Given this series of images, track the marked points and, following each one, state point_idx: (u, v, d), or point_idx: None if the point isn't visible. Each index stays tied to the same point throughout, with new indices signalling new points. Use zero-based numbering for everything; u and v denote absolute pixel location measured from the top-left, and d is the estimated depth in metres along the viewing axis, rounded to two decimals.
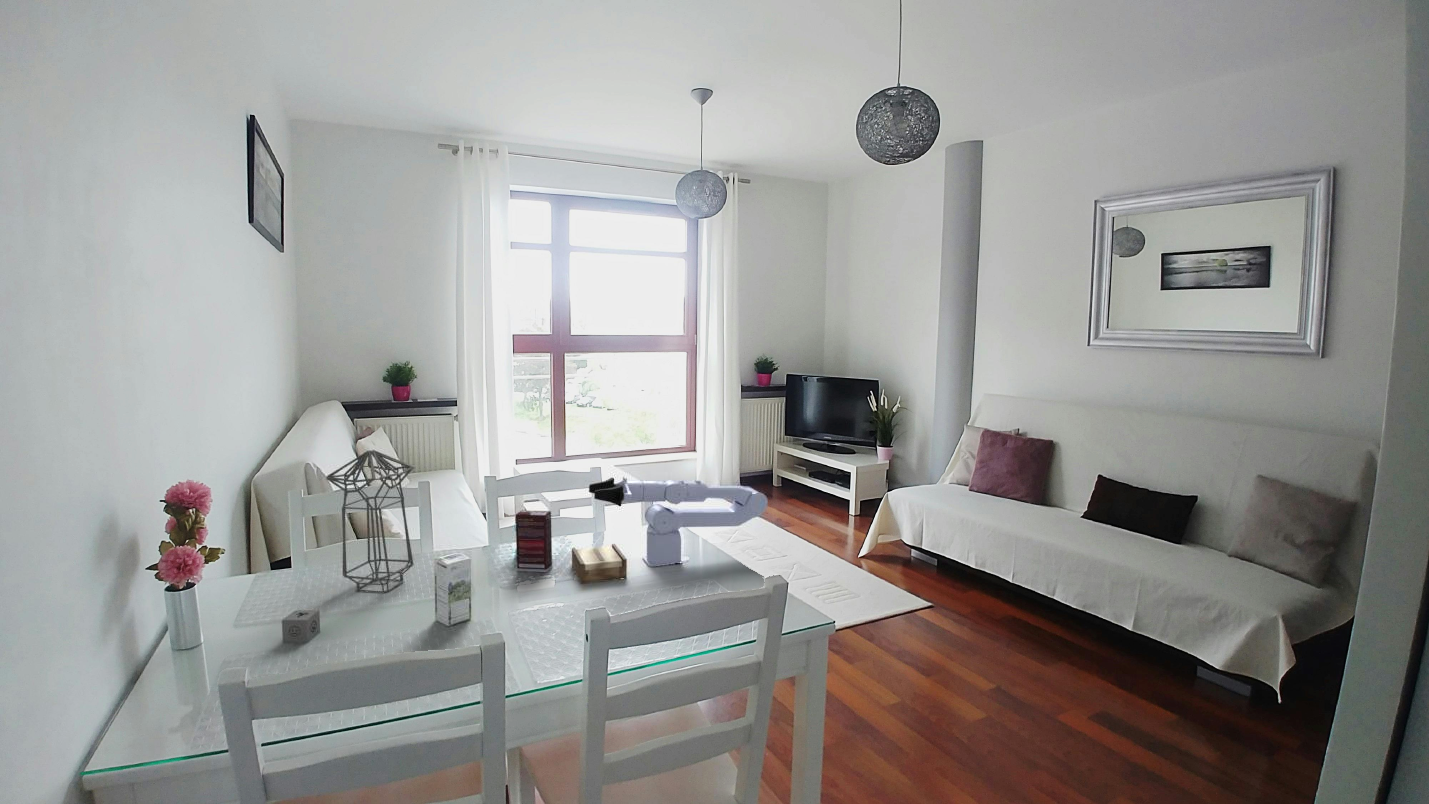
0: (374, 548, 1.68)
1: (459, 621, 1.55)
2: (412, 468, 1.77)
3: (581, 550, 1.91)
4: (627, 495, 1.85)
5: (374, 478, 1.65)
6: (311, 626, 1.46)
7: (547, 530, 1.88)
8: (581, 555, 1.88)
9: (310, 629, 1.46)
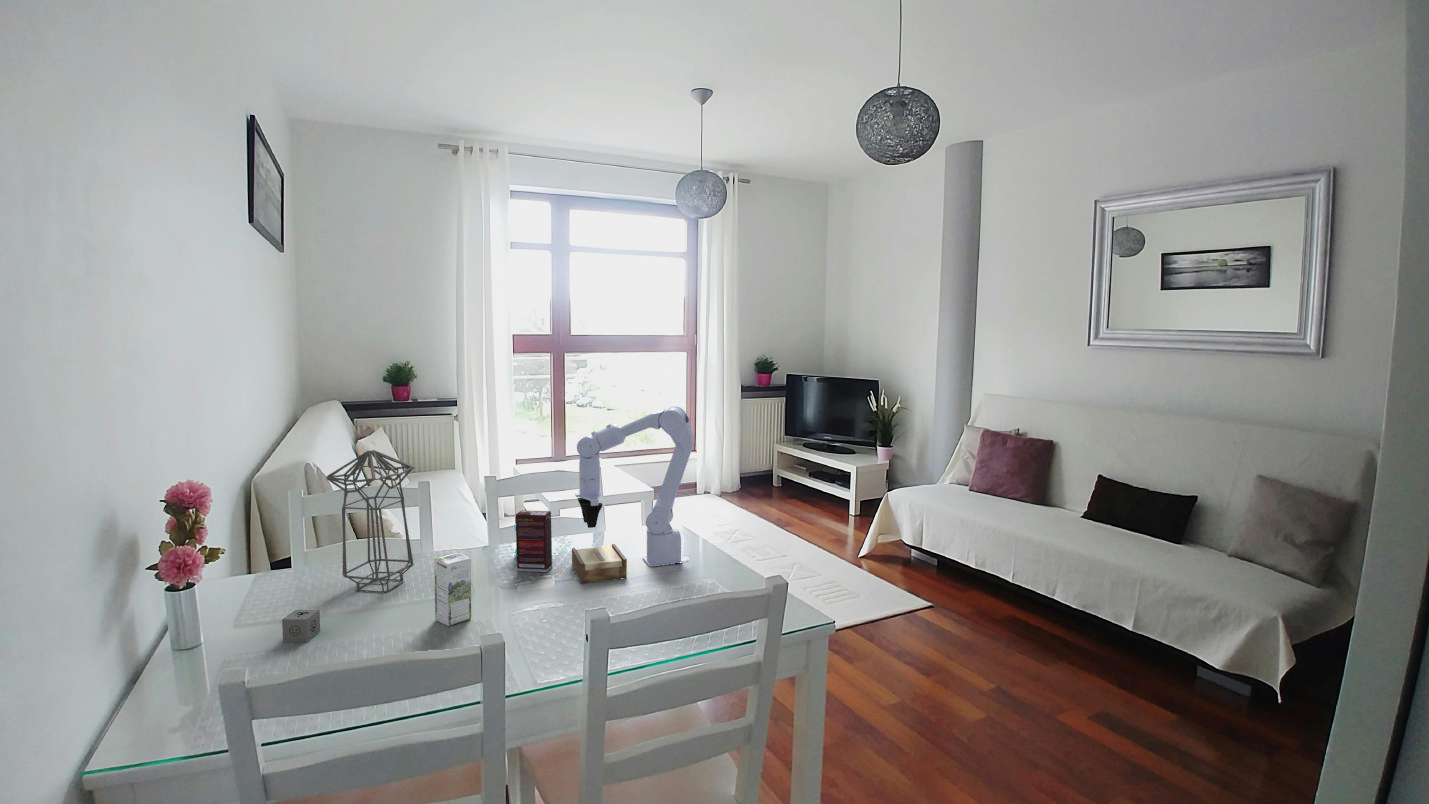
0: (374, 548, 1.68)
1: (459, 621, 1.55)
2: (412, 468, 1.77)
3: (581, 550, 1.91)
4: (592, 503, 1.91)
5: (374, 478, 1.65)
6: (311, 625, 1.47)
7: (547, 530, 1.88)
8: (581, 555, 1.88)
9: (310, 628, 1.46)
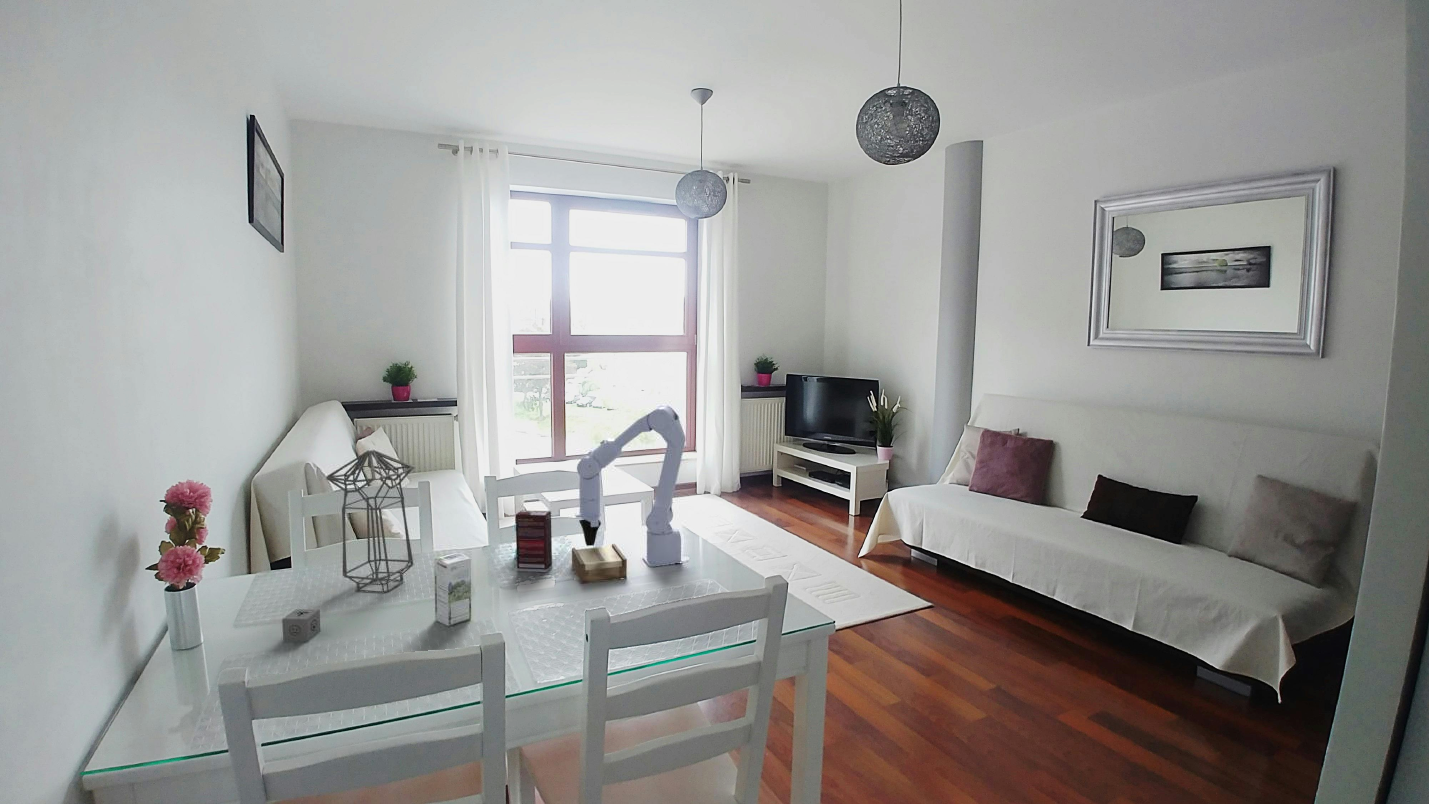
0: (374, 548, 1.68)
1: (459, 621, 1.55)
2: (412, 468, 1.77)
3: (581, 550, 1.91)
4: (592, 524, 1.92)
5: (374, 478, 1.65)
6: (311, 624, 1.47)
7: (547, 530, 1.88)
8: (581, 555, 1.88)
9: (310, 628, 1.46)
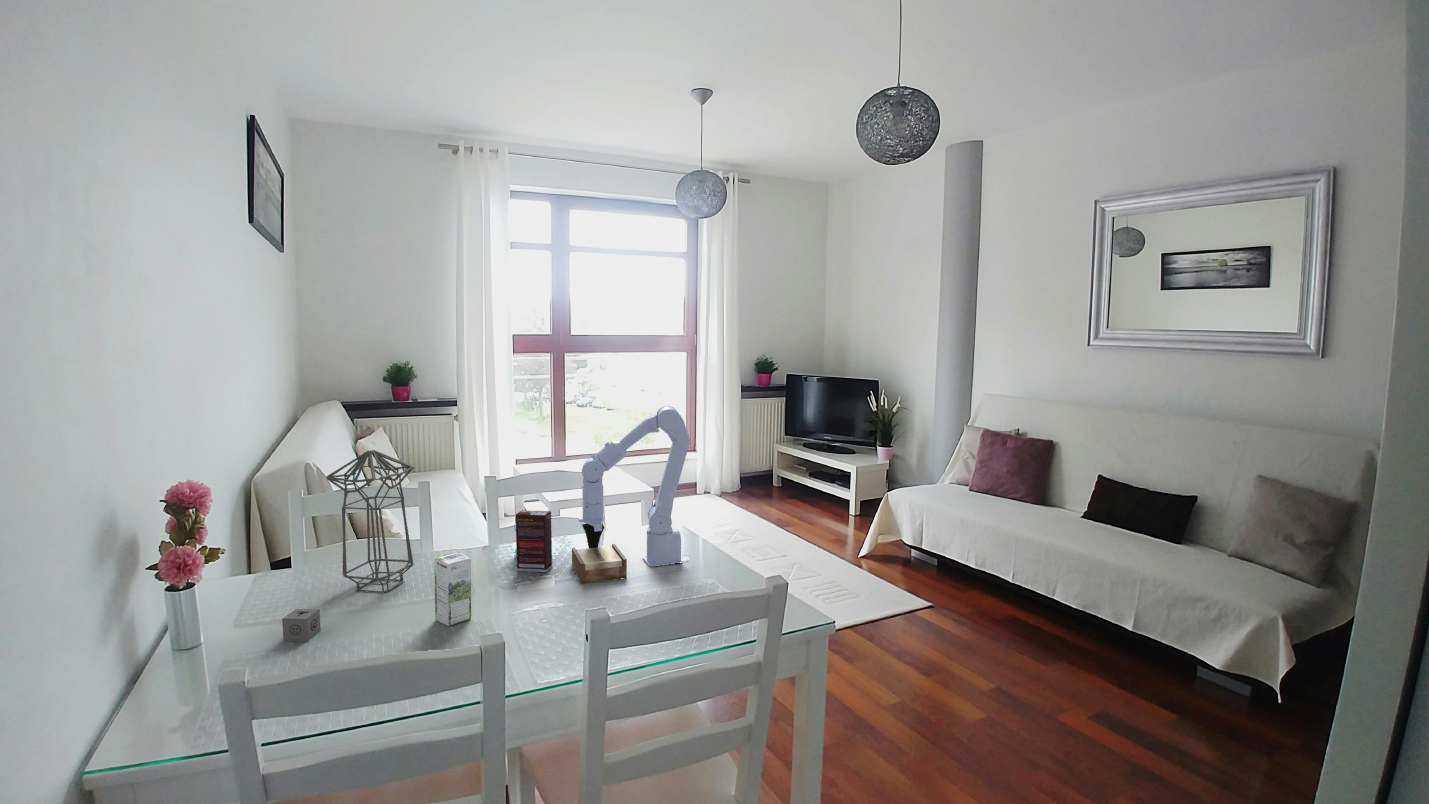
0: (374, 548, 1.68)
1: (459, 621, 1.55)
2: (412, 468, 1.77)
3: (581, 550, 1.91)
4: (596, 528, 1.87)
5: (374, 478, 1.65)
6: (311, 624, 1.47)
7: (547, 530, 1.88)
8: (581, 555, 1.88)
9: (310, 627, 1.46)
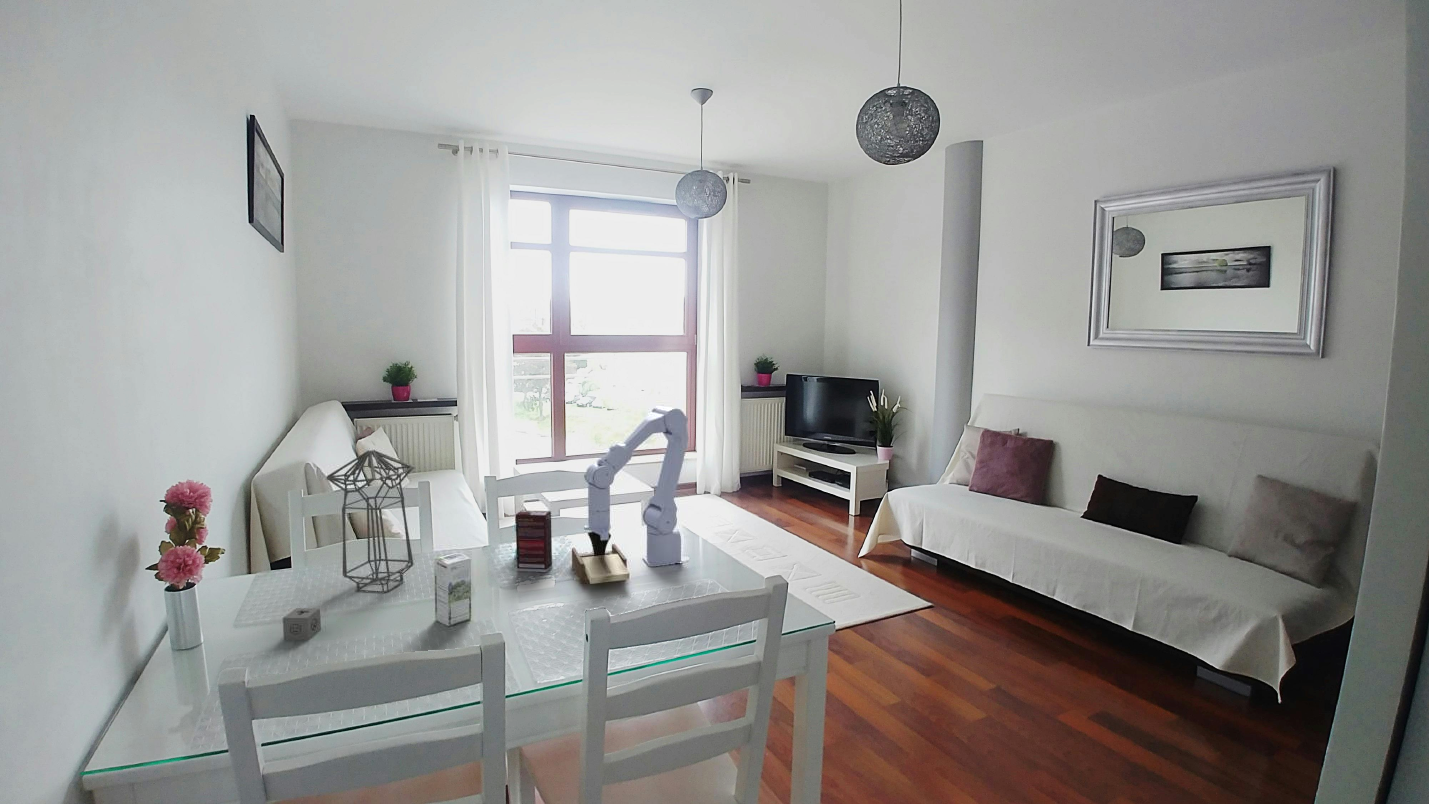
0: (374, 548, 1.68)
1: (459, 621, 1.55)
2: (412, 468, 1.77)
3: (586, 559, 1.84)
4: (602, 537, 1.80)
5: (374, 478, 1.65)
6: (312, 623, 1.47)
7: (547, 530, 1.88)
8: (586, 565, 1.80)
9: (311, 627, 1.47)
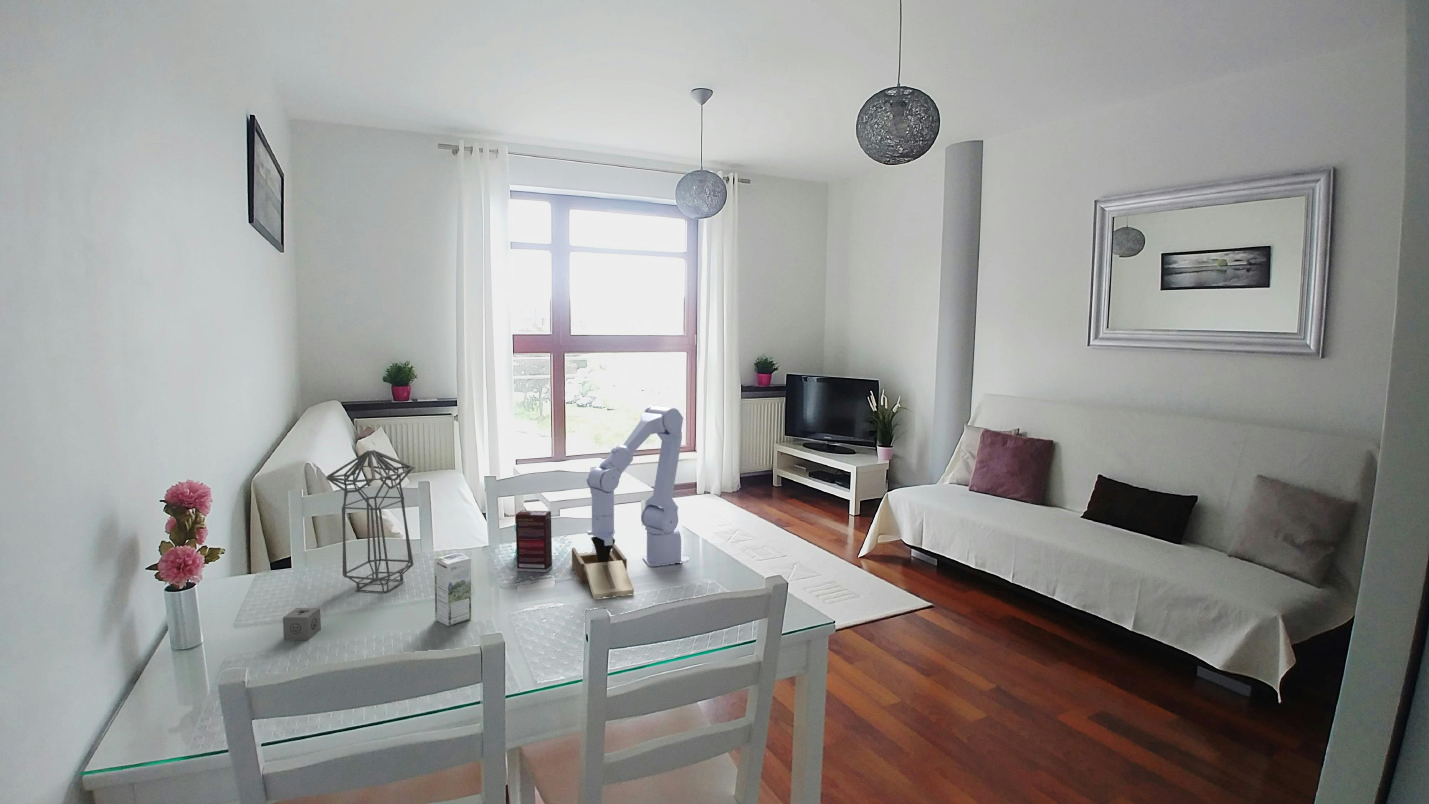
0: (374, 548, 1.68)
1: (459, 621, 1.55)
2: (412, 468, 1.77)
3: (590, 567, 1.79)
4: (606, 542, 1.75)
5: (374, 478, 1.65)
6: (312, 623, 1.48)
7: (547, 530, 1.88)
8: (590, 576, 1.76)
9: (311, 626, 1.47)
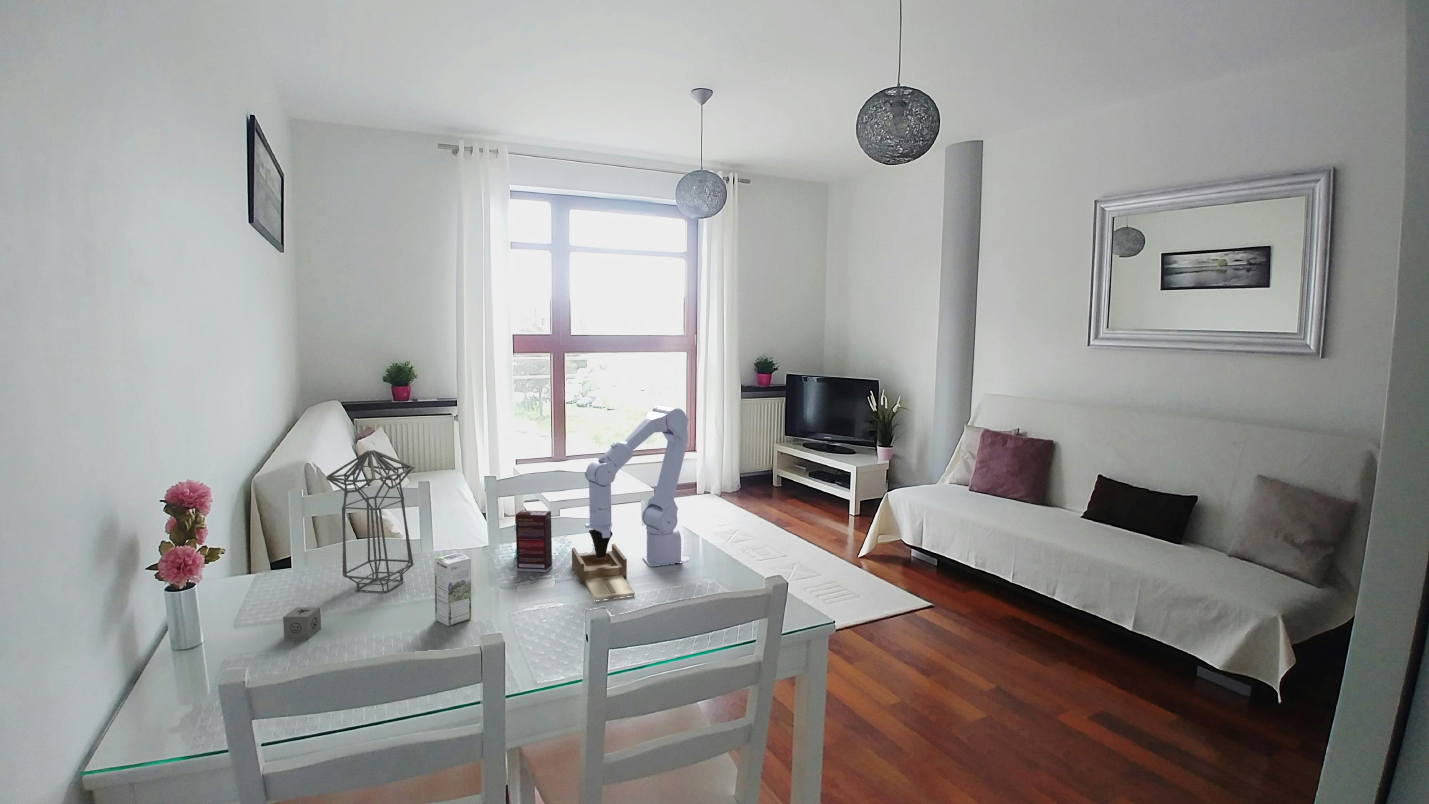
0: (374, 548, 1.68)
1: (459, 621, 1.55)
2: (412, 468, 1.77)
3: (590, 581, 1.79)
4: (604, 535, 1.78)
5: (374, 478, 1.65)
6: (312, 622, 1.48)
7: (547, 530, 1.88)
8: (590, 586, 1.75)
9: (311, 626, 1.47)
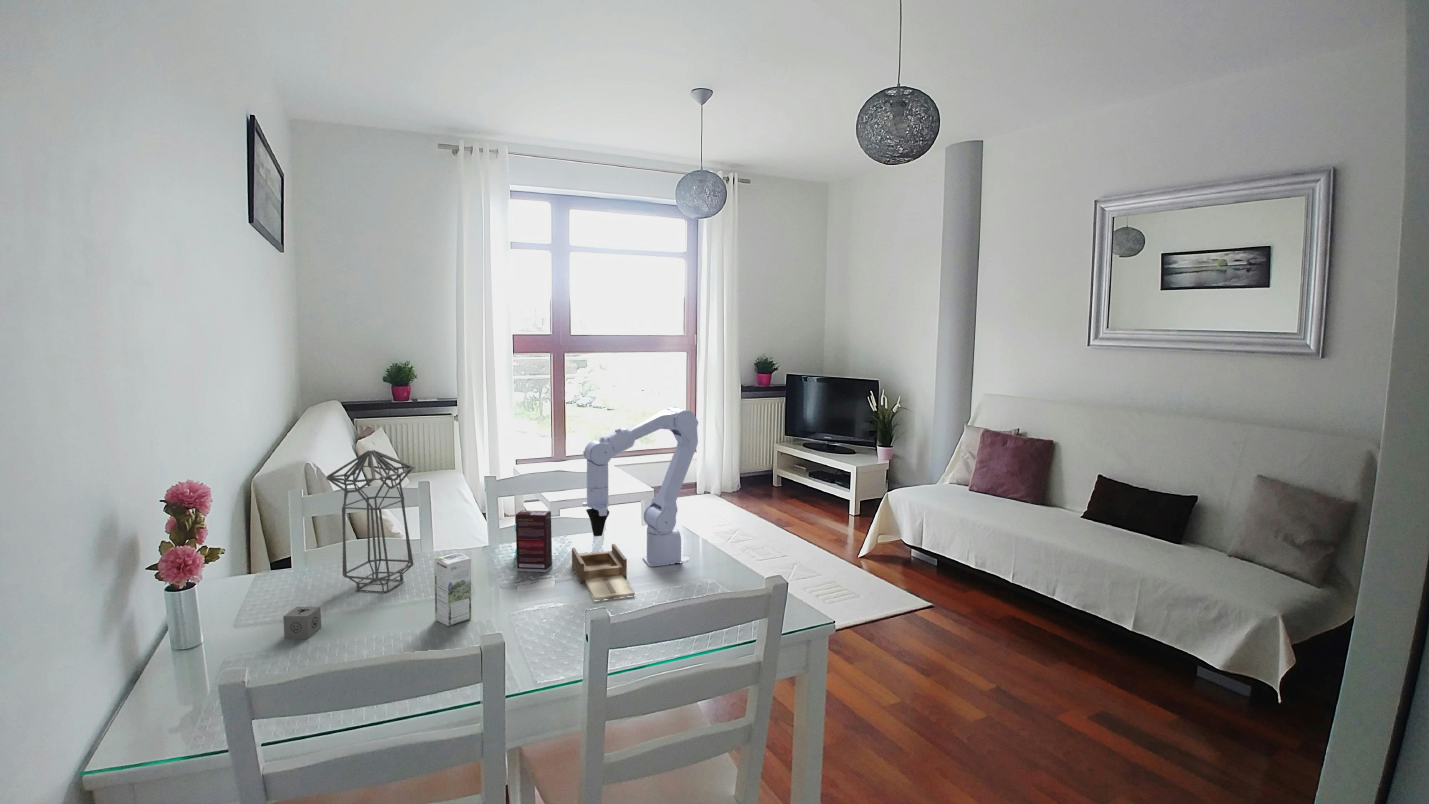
0: (374, 548, 1.68)
1: (459, 621, 1.55)
2: (412, 468, 1.77)
3: (590, 581, 1.79)
4: (601, 513, 1.81)
5: (374, 478, 1.65)
6: (312, 622, 1.48)
7: (547, 530, 1.88)
8: (590, 586, 1.75)
9: (311, 625, 1.48)
